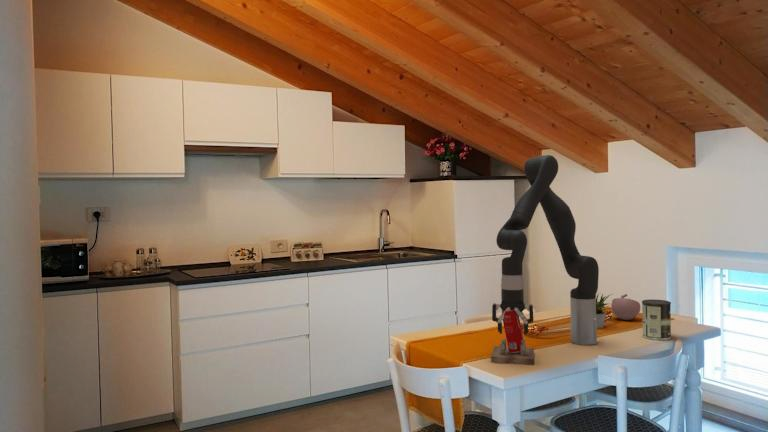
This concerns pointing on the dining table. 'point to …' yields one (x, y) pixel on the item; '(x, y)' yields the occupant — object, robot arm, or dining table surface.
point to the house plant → (600, 311)
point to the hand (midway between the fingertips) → (512, 333)
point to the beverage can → (513, 331)
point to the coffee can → (656, 319)
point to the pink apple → (625, 308)
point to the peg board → (512, 354)
